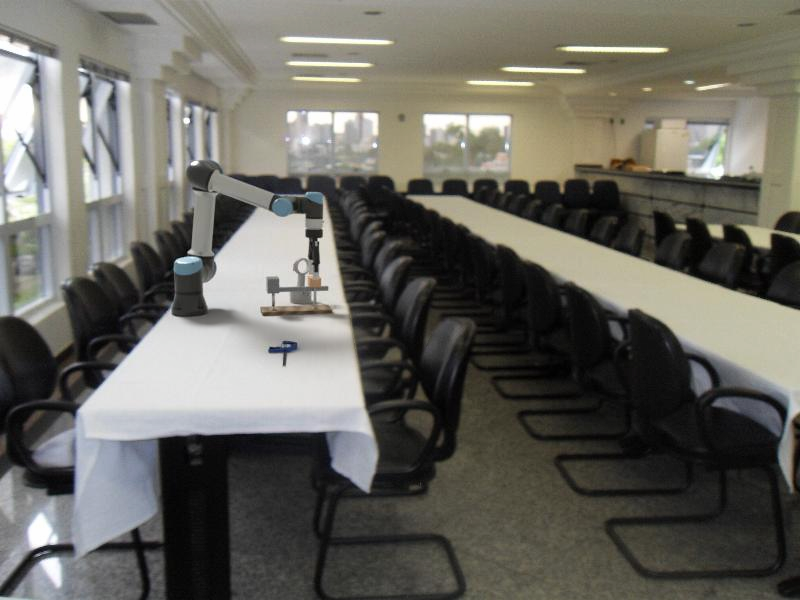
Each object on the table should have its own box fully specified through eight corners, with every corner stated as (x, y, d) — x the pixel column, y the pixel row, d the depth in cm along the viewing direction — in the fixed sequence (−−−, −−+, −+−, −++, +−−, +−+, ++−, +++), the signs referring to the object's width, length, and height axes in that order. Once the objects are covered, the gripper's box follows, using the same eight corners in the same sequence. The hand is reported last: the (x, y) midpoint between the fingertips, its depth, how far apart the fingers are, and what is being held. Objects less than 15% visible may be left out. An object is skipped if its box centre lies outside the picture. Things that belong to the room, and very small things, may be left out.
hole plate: (262, 315, 339) (262, 311, 338) (260, 310, 350) (260, 306, 350) (332, 313, 346) (332, 309, 345) (328, 307, 357) (328, 304, 357)
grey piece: (267, 310, 341) (267, 279, 339) (266, 307, 348) (266, 276, 345) (329, 308, 348) (329, 277, 345) (326, 305, 354) (326, 275, 352)
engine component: (285, 301, 371) (297, 304, 364) (285, 257, 368) (296, 260, 360) (305, 298, 378) (317, 301, 371) (305, 255, 374) (317, 258, 367)
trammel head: (309, 307, 345) (309, 278, 343) (307, 304, 352) (307, 275, 350) (321, 307, 347) (321, 278, 344) (318, 304, 353) (318, 275, 351)
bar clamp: (269, 340, 287) (297, 340, 288) (269, 346, 288) (297, 346, 289) (265, 367, 256) (296, 367, 257) (265, 375, 256) (296, 374, 258)
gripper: (327, 231, 332) (326, 281, 336) (318, 225, 356) (318, 272, 360) (309, 231, 330) (308, 282, 334) (301, 225, 354) (301, 272, 358)
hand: (313, 277), depth 347 cm, fingers open, 13 cm apart
